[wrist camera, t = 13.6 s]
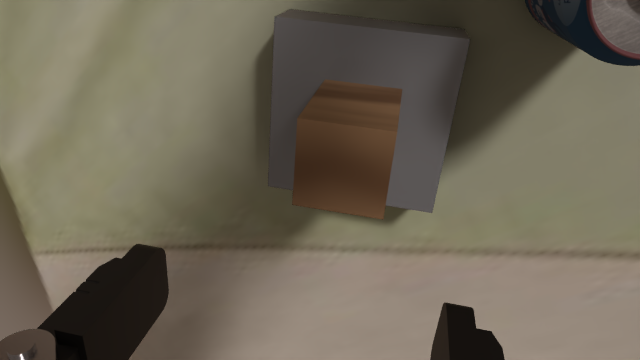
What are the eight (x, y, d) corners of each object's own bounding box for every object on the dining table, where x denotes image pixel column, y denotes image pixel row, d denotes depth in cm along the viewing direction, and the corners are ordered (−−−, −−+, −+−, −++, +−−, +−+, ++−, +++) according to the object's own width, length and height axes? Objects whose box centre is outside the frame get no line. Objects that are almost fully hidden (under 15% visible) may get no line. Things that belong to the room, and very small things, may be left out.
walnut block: (325, 79, 31) (297, 118, 24) (402, 89, 30) (397, 131, 23) (319, 150, 33) (292, 204, 26) (391, 160, 33) (383, 219, 26)
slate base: (289, 9, 33) (274, 16, 30) (464, 29, 32) (470, 39, 28) (281, 164, 39) (267, 186, 35) (430, 187, 37) (432, 213, 34)
